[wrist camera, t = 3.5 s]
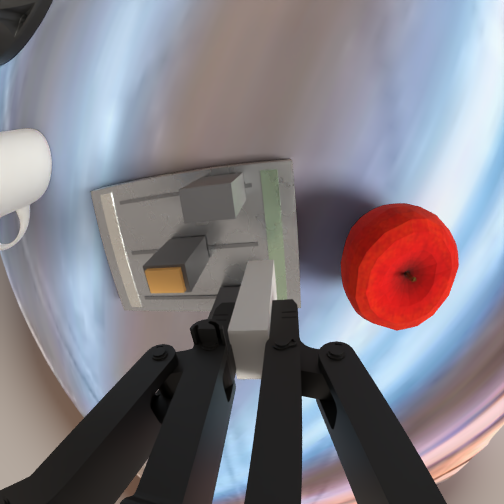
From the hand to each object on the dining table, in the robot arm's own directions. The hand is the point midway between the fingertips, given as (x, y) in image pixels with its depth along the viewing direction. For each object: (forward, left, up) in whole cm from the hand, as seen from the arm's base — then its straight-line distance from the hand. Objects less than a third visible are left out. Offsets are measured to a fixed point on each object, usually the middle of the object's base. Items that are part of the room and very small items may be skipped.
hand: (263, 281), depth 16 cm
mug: (-9, -25, -8) cm, 28 cm away
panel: (0, -6, -7) cm, 10 cm away
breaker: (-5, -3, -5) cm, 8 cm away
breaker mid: (0, -6, -5) cm, 8 cm away
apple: (+1, +9, -8) cm, 12 cm away
